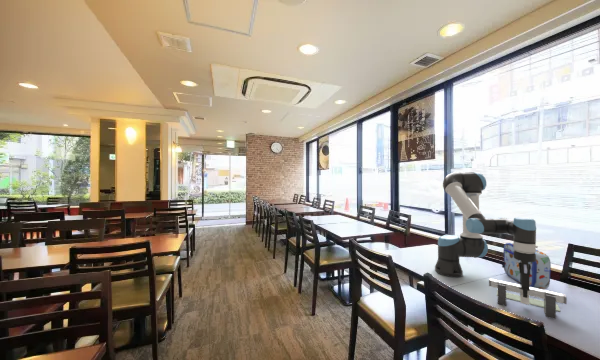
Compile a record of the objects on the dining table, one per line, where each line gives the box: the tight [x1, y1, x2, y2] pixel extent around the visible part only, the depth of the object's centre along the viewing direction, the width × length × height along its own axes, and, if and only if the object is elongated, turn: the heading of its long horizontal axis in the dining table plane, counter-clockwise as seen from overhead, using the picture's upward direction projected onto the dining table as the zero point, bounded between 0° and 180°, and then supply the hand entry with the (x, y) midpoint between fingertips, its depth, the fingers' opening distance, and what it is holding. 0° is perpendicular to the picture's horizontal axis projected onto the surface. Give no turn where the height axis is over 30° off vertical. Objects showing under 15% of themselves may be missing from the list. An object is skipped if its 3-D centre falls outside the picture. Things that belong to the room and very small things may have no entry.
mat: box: [496, 289, 561, 312], centre depth 115 cm, size 22×7×1 cm, turn 49°
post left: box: [497, 279, 507, 307], centre depth 114 cm, size 3×6×10 cm, turn 139°
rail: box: [488, 278, 568, 305], centre depth 108 cm, size 26×3×3 cm, turn 49°
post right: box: [543, 289, 557, 320], centre depth 103 cm, size 3×6×10 cm, turn 139°
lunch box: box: [501, 242, 552, 290], centre depth 137 cm, size 28×10×22 cm, turn 168°
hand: (524, 301), depth 108 cm, fingers open, 4 cm apart
